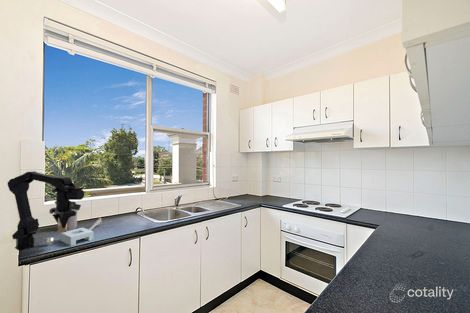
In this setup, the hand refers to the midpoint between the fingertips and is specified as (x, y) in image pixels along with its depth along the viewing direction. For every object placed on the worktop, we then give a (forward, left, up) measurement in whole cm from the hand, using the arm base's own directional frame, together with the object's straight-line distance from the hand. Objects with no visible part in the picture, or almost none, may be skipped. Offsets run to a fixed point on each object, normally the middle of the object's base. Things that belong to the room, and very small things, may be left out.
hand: (62, 227), depth 122 cm
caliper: (+26, +20, -12) cm, 35 cm away
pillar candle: (+17, +36, -12) cm, 42 cm away
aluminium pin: (-2, +11, -12) cm, 16 cm away
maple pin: (0, 0, -2) cm, 2 cm away
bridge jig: (+10, +6, -12) cm, 16 cm away
